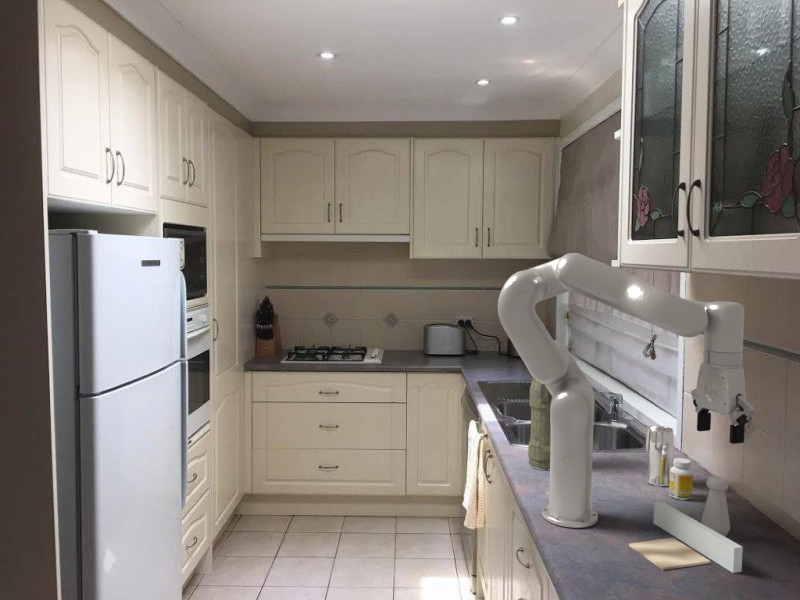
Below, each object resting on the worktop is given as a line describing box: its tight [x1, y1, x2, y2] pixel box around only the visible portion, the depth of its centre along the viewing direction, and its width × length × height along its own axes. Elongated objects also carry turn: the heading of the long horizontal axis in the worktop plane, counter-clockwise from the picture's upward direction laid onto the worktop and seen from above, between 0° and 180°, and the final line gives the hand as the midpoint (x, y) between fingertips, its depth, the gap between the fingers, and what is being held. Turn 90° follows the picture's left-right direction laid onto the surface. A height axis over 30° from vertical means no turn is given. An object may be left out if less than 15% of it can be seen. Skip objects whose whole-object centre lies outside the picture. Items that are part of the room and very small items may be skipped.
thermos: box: [527, 376, 552, 469], centre depth 188 cm, size 9×12×35 cm
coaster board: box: [628, 537, 711, 571], centre depth 135 cm, size 11×11×1 cm
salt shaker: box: [700, 475, 731, 538], centre depth 143 cm, size 6×6×13 cm
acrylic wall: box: [653, 500, 744, 574], centre depth 138 cm, size 24×2×5 cm, turn 16°
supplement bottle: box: [668, 457, 694, 500], centre depth 166 cm, size 5×5×10 cm
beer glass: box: [645, 425, 675, 485], centre depth 175 cm, size 7×7×15 cm
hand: (719, 436), depth 142 cm, fingers open, 9 cm apart
